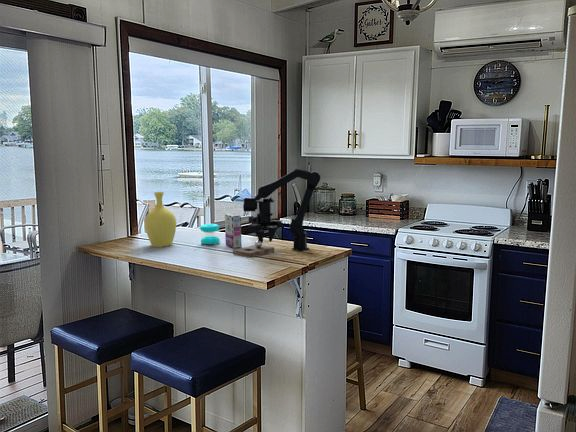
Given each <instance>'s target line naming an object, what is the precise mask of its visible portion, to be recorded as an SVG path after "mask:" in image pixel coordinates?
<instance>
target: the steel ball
mask: <svg viewBox="0 0 576 432" xmlns="http://www.w3.org/2000/svg"><path fill="white" fill-rule="evenodd" d="M254 245H255V246H256V247H257V248H259V247H261V246H263V243H262V242H261V241H259V239H258V240H256V241H255V243H254Z"/></svg>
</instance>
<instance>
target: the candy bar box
mask: <svg viewBox="0 0 576 432" xmlns="http://www.w3.org/2000/svg"><path fill="white" fill-rule="evenodd" d="M241 220H242V215H238V214H235V213H225V214H224V229H225V230H224V231H225V233H224V234H225V236H224V237H225V238H224V239H225V246H227V247H229V248H232V249H240V248H243V247H242V221H241Z"/></svg>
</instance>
